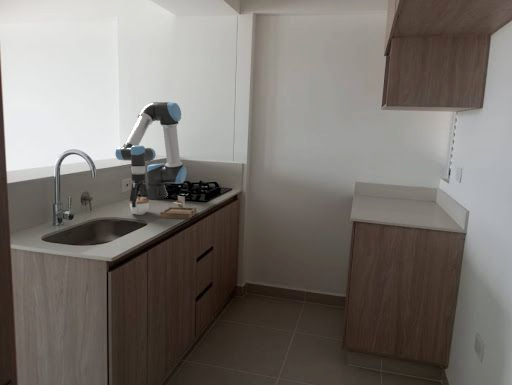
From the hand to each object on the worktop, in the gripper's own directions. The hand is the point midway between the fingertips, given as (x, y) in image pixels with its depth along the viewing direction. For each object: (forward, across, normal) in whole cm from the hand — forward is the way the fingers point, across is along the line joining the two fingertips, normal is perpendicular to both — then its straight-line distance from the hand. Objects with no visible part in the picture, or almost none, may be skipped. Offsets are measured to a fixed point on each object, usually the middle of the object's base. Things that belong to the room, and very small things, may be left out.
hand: (139, 210), depth 241 cm
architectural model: (+2, -20, +18) cm, 27 cm away
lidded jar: (+2, 0, 0) cm, 2 cm away
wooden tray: (+2, 0, +23) cm, 23 cm away
